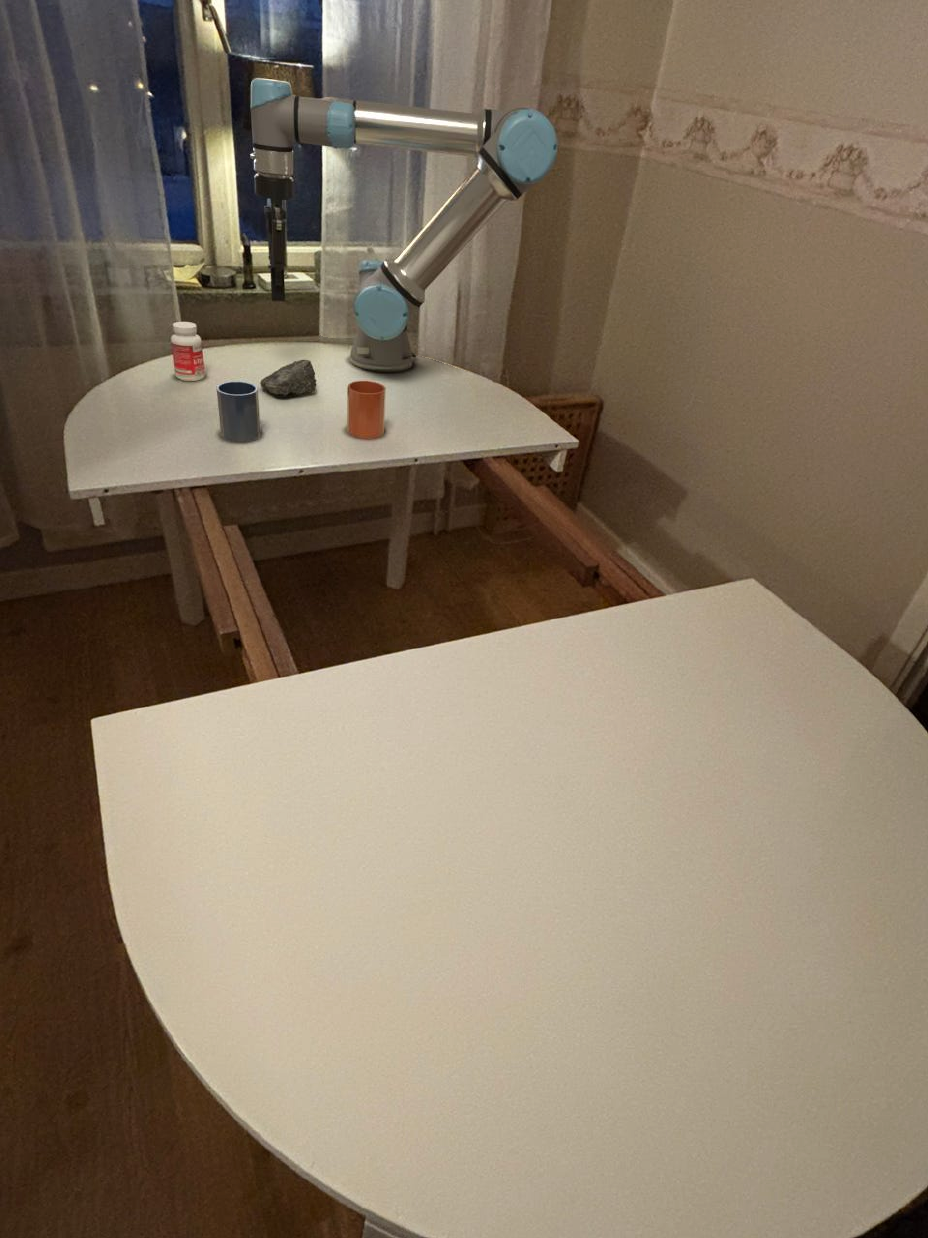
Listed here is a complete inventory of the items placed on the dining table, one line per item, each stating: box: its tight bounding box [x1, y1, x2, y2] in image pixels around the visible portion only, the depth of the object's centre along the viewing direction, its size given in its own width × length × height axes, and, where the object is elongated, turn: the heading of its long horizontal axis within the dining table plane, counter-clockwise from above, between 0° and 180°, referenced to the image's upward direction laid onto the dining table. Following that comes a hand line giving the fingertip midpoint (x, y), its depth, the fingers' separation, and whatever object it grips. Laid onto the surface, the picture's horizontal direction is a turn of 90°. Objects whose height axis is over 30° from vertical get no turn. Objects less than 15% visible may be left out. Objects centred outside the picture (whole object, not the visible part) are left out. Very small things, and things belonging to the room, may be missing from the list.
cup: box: [216, 380, 262, 444], centre depth 137 cm, size 7×7×9 cm
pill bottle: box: [170, 321, 206, 382], centre depth 158 cm, size 6×6×11 cm
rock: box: [260, 359, 317, 396], centre depth 158 cm, size 9×11×6 cm
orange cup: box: [346, 380, 387, 440], centre depth 145 cm, size 7×7×9 cm
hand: (278, 299), depth 160 cm, fingers closed
